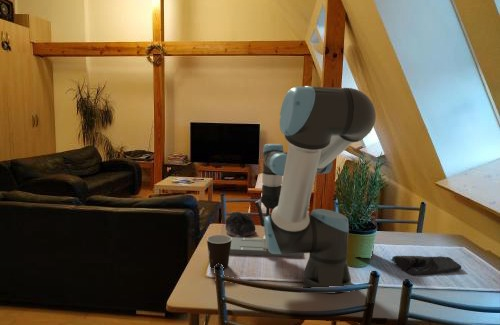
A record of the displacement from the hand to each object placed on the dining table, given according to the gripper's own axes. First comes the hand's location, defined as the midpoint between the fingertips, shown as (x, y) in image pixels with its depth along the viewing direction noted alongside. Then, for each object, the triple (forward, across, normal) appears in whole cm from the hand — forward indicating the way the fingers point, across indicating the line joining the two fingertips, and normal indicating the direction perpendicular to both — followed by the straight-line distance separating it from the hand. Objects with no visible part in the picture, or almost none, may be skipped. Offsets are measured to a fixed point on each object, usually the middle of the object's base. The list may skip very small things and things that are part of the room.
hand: (270, 243), depth 135 cm
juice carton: (+4, -36, -2) cm, 36 cm away
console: (+4, +2, -3) cm, 5 cm away
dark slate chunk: (+4, -57, +6) cm, 57 cm away
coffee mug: (+4, +18, +13) cm, 22 cm away
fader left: (+1, +2, 0) cm, 2 cm away
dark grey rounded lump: (+4, +14, -22) cm, 26 cm away
